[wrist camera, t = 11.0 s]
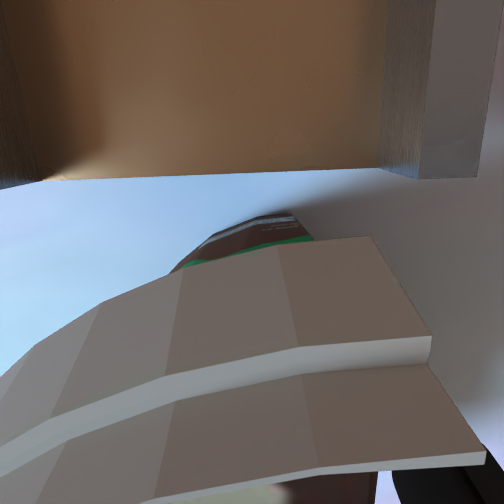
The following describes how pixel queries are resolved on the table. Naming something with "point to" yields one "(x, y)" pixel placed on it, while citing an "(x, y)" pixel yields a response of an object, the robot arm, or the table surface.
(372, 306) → the food container
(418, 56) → the trolley
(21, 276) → the table surface
